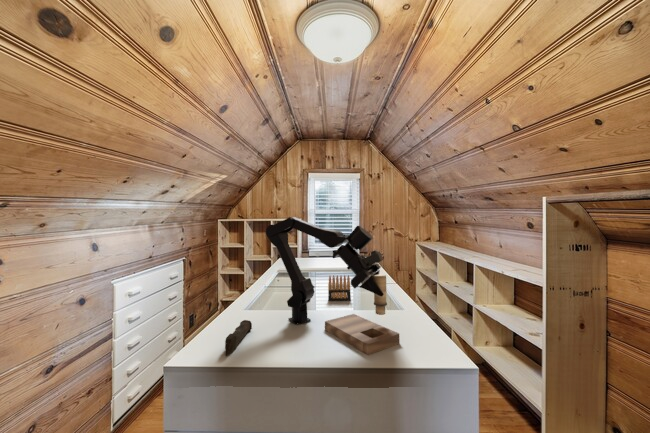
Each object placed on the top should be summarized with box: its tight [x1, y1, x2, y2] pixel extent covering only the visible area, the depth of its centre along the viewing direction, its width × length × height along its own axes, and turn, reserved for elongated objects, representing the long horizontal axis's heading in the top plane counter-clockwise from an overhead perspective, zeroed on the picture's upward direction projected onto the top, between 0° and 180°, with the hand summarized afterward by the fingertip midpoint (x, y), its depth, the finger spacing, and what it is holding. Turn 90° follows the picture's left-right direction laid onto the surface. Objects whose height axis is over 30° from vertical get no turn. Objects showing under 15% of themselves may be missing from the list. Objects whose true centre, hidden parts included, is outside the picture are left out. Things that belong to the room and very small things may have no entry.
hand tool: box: [224, 319, 253, 356], centre depth 88 cm, size 19×4×5 cm, turn 176°
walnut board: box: [324, 313, 400, 356], centre depth 91 cm, size 22×13×3 cm, turn 34°
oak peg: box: [373, 274, 388, 316], centre depth 93 cm, size 4×4×12 cm
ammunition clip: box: [327, 274, 352, 302], centre depth 132 cm, size 11×2×12 cm, turn 89°
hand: (384, 294), depth 92 cm, fingers closed on oak peg, 4 cm apart
